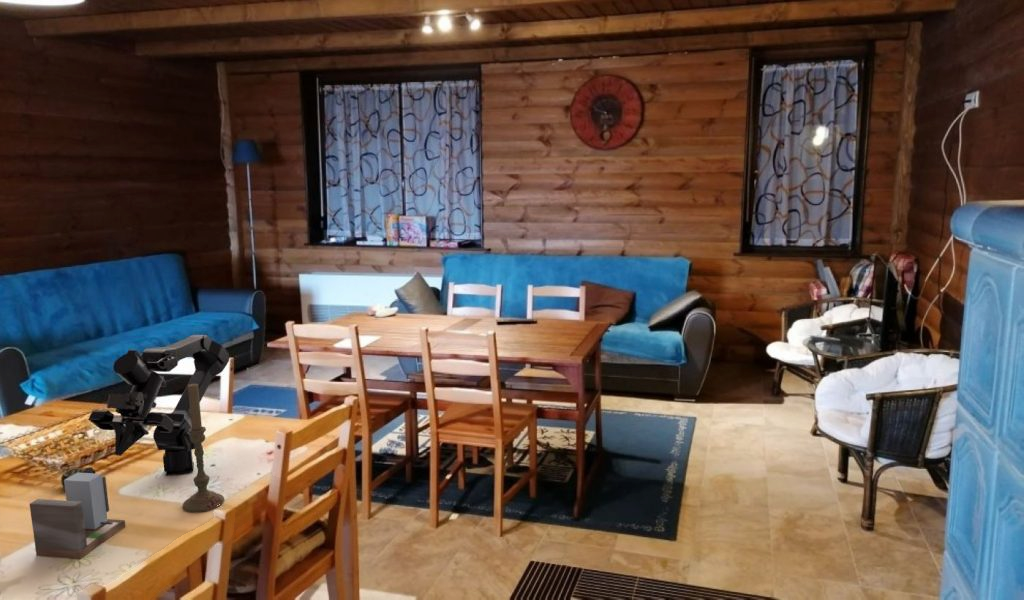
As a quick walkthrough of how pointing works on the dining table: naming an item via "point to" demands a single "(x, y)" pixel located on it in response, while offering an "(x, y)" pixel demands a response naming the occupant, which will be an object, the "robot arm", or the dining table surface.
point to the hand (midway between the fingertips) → (117, 454)
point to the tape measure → (74, 471)
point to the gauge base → (66, 529)
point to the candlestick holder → (199, 460)
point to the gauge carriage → (89, 497)
